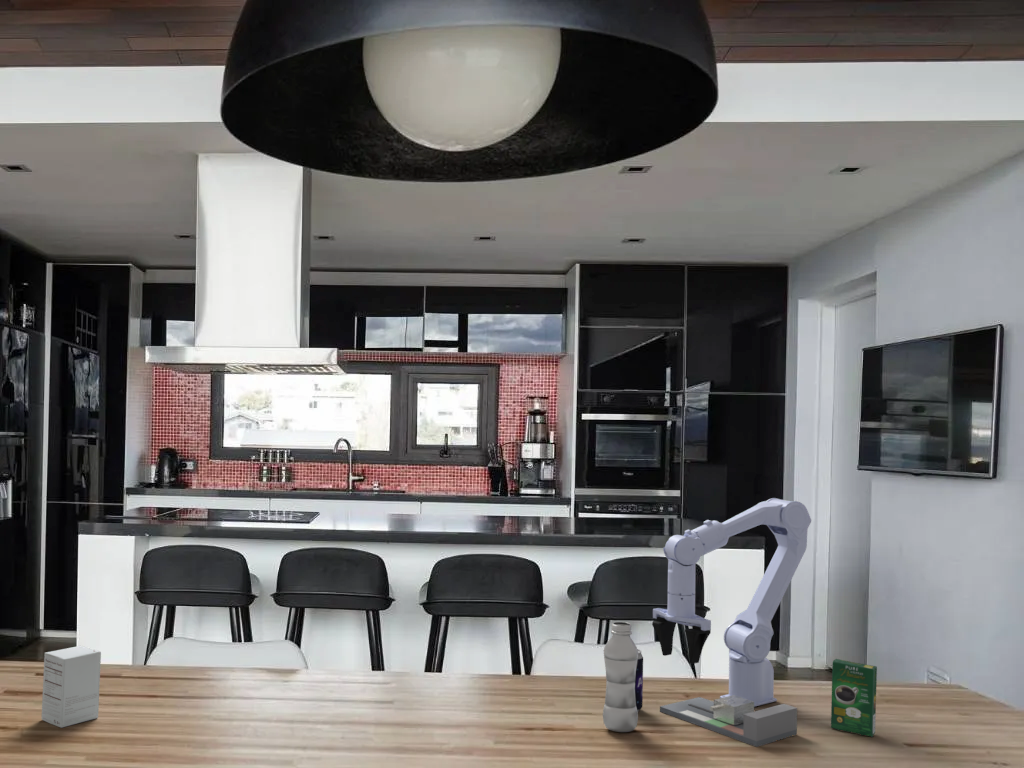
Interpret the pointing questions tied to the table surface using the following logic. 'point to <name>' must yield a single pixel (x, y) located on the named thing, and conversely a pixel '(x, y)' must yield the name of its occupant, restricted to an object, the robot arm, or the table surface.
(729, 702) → the slider block with tab
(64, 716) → the supplement box
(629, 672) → the plastic bottle
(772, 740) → the gauge board
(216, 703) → the table surface
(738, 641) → the robot arm
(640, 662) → the beverage can
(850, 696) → the coffee box
